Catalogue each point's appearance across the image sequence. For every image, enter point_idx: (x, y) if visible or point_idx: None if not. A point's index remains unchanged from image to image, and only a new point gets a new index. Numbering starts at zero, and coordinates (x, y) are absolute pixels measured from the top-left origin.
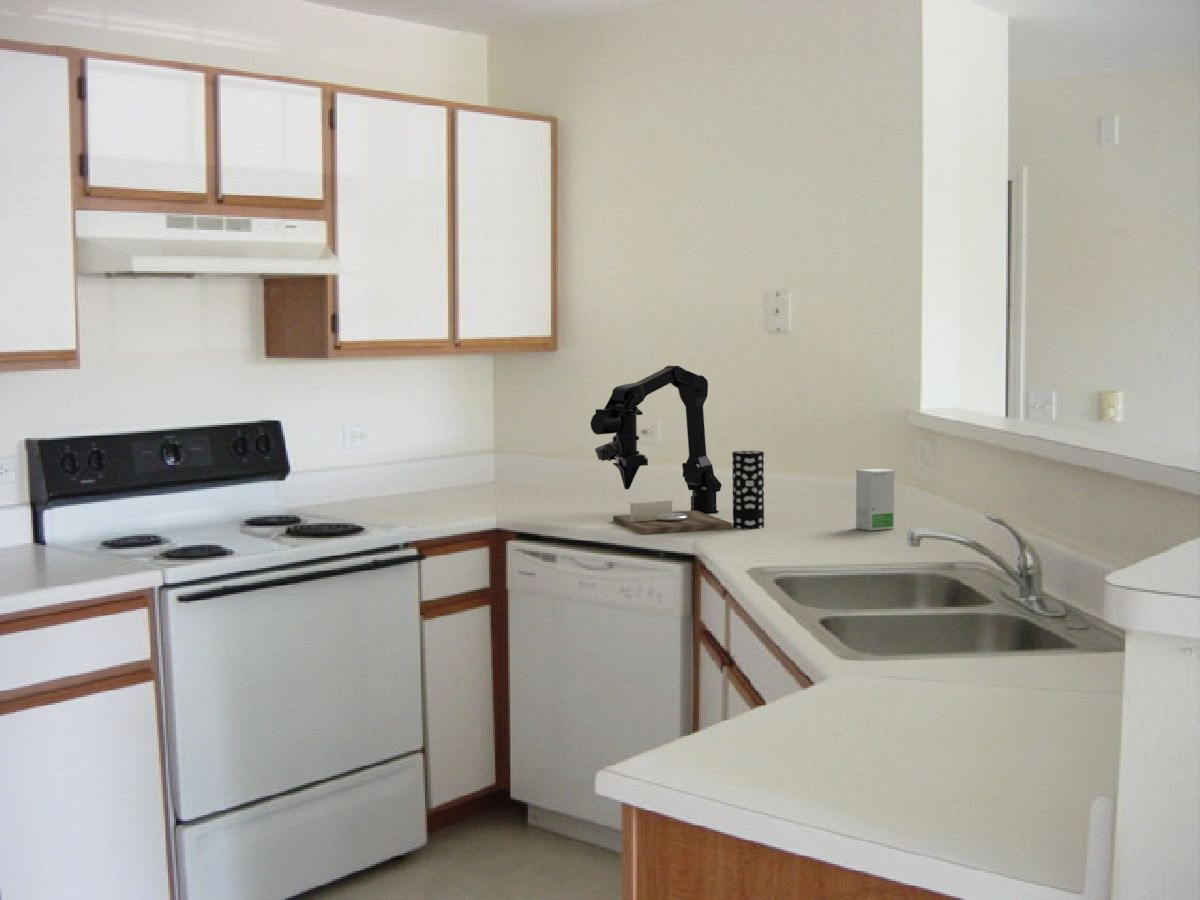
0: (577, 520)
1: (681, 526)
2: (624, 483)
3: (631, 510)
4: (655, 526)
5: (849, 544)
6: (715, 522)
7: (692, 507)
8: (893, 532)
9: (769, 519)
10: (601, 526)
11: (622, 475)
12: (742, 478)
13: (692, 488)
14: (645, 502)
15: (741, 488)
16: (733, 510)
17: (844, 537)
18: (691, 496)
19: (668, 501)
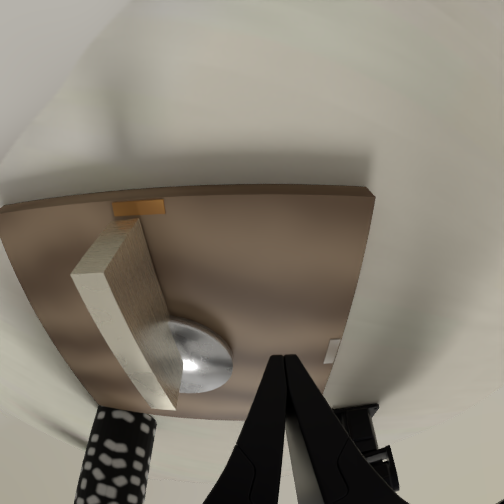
0: (457, 61)
1: (42, 324)
2: (271, 393)
3: (105, 248)
4: (33, 266)
5: (8, 402)
6: (106, 394)
7: (358, 415)
8: (84, 451)
9: (204, 448)
10: (232, 79)
11: (308, 461)
12: (77, 491)
13: (377, 453)
14: (122, 340)
15: (82, 473)
16: (111, 433)
17: (46, 422)
18: (369, 436)
19: (145, 400)
